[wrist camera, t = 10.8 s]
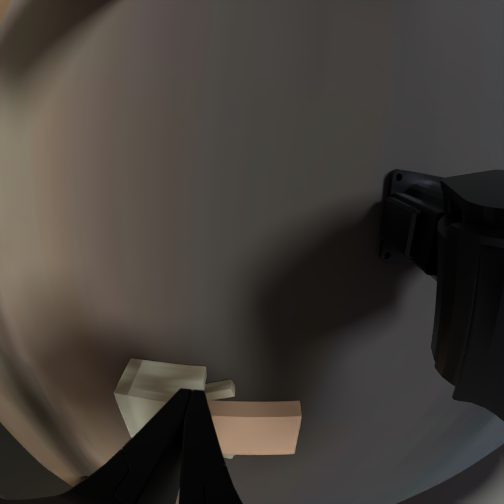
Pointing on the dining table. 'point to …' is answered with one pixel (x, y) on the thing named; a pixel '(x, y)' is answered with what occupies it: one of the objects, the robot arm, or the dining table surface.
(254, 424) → the terracotta tile
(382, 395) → the dining table surface
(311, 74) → the dining table surface
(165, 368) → the grey-green flat pronged block
